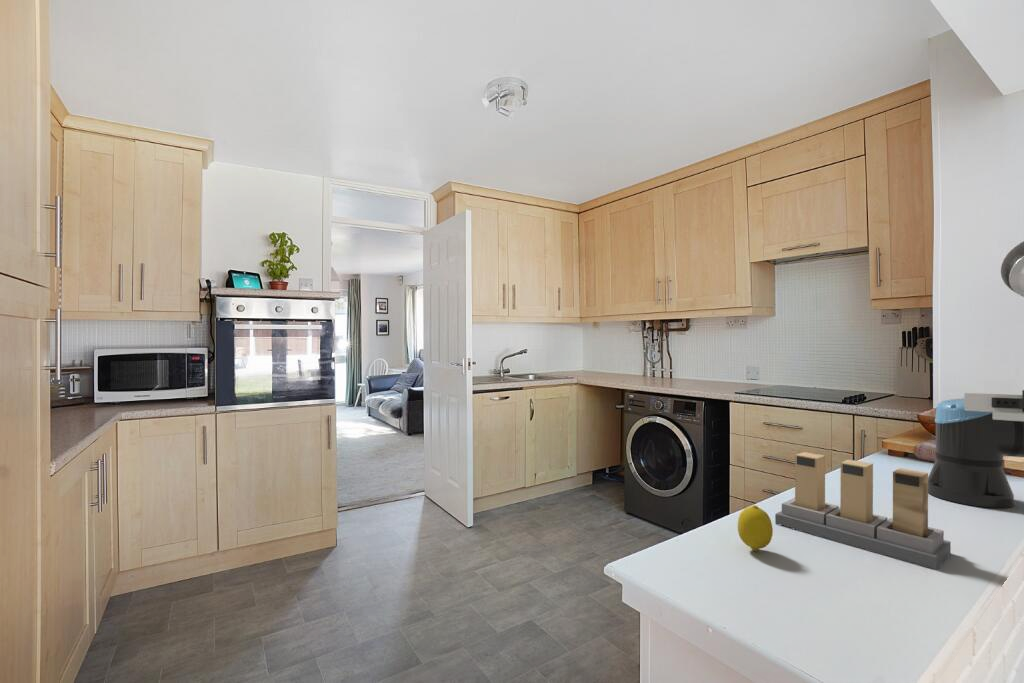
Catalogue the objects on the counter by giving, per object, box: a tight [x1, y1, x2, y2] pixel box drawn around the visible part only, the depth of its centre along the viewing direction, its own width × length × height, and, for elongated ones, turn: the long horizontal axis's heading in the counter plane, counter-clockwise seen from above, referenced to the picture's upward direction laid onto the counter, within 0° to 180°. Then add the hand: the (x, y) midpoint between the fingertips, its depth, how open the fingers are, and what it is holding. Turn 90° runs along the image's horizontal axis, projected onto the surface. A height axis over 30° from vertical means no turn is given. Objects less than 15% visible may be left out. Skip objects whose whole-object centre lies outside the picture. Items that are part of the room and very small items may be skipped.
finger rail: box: [774, 451, 952, 571], centre depth 92 cm, size 10×25×14 cm, turn 38°
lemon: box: [737, 504, 774, 552], centre depth 86 cm, size 6×6×8 cm
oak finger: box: [892, 467, 929, 538], centre depth 86 cm, size 4×4×12 cm
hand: (979, 406), depth 80 cm, fingers open, 13 cm apart
